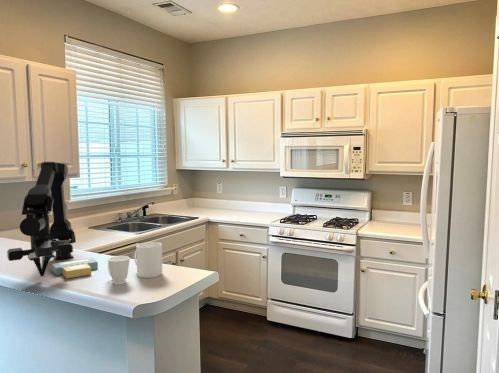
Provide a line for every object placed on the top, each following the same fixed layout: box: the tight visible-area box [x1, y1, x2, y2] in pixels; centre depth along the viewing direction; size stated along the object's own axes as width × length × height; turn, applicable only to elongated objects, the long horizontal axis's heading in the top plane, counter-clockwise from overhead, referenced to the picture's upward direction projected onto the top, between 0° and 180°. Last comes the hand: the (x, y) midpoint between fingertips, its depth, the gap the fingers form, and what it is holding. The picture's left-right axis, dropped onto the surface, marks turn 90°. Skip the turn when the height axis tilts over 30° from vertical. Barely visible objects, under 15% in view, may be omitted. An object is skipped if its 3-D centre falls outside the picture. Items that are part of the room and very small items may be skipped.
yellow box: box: [62, 264, 92, 279], centre depth 136 cm, size 6×8×3 cm
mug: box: [133, 241, 163, 279], centre depth 137 cm, size 9×12×11 cm
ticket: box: [51, 257, 99, 276], centre depth 143 cm, size 8×14×3 cm, turn 126°
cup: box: [107, 255, 131, 285], centre depth 129 cm, size 7×10×8 cm
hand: (42, 276), depth 130 cm, fingers closed
